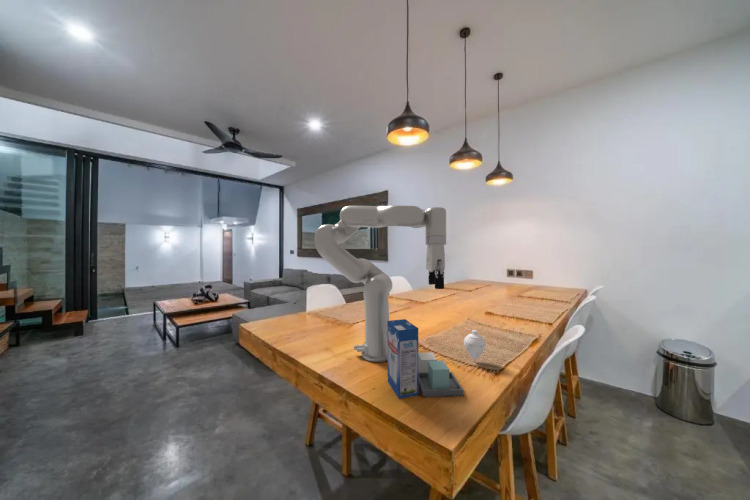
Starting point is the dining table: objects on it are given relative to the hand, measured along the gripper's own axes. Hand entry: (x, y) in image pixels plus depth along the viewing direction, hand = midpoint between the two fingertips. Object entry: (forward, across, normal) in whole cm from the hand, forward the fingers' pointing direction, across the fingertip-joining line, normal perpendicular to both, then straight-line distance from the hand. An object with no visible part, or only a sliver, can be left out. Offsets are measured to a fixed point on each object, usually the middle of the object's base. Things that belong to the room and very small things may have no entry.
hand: (435, 286), depth 102 cm
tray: (+28, +18, -4) cm, 34 cm away
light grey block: (+28, +6, -6) cm, 30 cm away
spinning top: (+28, +2, +14) cm, 32 cm away
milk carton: (+28, +18, -15) cm, 37 cm away
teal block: (+28, +18, -4) cm, 33 cm away
